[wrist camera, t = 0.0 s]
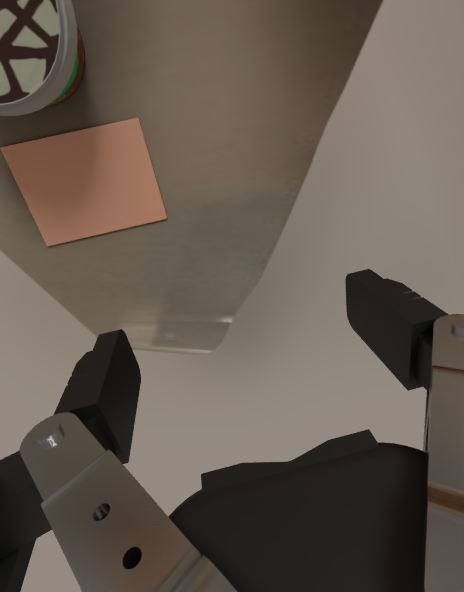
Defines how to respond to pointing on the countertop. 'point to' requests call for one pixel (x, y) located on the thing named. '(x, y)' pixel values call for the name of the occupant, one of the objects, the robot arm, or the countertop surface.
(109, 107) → the countertop surface
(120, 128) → the plate
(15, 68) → the food container
